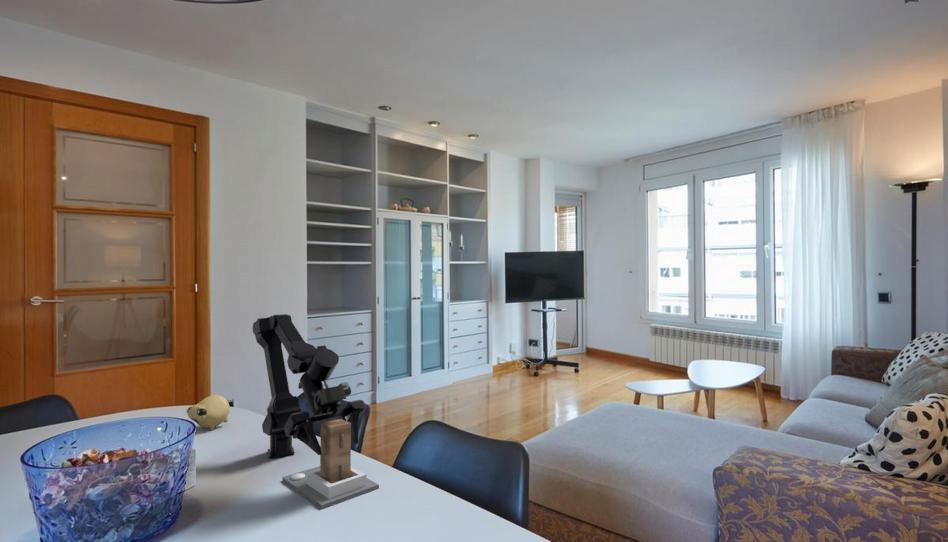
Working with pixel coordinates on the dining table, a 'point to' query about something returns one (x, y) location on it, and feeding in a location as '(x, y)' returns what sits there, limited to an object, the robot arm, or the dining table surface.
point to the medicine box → (191, 471)
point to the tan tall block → (335, 450)
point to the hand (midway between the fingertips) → (339, 448)
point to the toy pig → (210, 411)
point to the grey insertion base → (329, 486)
